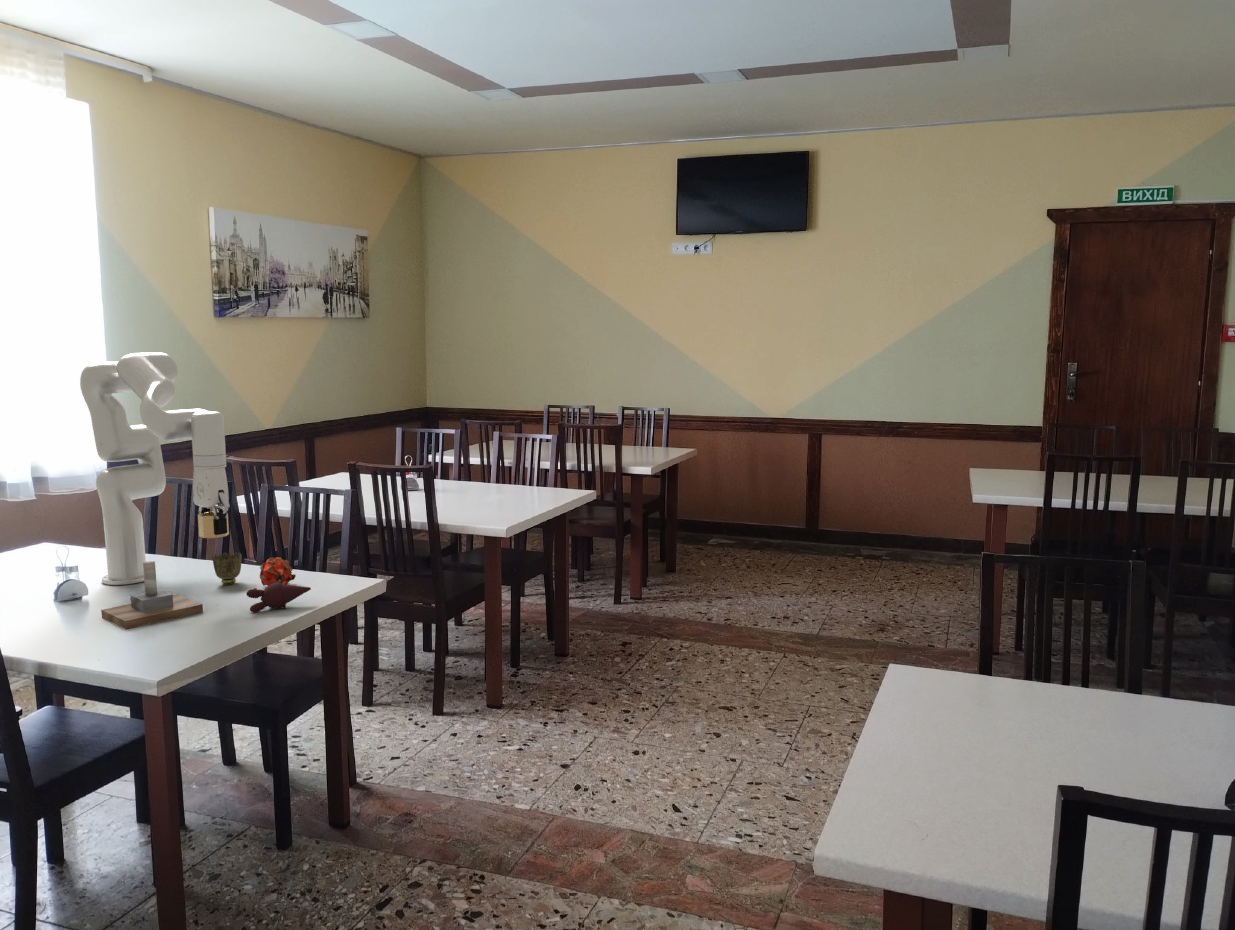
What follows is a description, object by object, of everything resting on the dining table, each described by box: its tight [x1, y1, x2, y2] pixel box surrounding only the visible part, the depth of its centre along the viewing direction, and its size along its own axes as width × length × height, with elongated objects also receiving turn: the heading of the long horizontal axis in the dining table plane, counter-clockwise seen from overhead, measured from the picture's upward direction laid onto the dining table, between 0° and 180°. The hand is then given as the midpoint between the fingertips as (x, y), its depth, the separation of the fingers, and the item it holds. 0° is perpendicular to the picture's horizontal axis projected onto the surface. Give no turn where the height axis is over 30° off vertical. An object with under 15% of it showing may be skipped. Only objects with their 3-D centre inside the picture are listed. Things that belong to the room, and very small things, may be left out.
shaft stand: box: [100, 560, 204, 630], centre depth 228 cm, size 14×18×13 cm
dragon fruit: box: [259, 557, 296, 587], centre depth 254 cm, size 8×8×12 cm
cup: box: [211, 552, 243, 586], centre depth 257 cm, size 8×7×8 cm
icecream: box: [246, 581, 312, 613], centre depth 234 cm, size 7×7×15 cm
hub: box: [197, 510, 230, 539], centre depth 238 cm, size 6×6×6 cm
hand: (213, 531), depth 238 cm, fingers closed on hub, 6 cm apart
